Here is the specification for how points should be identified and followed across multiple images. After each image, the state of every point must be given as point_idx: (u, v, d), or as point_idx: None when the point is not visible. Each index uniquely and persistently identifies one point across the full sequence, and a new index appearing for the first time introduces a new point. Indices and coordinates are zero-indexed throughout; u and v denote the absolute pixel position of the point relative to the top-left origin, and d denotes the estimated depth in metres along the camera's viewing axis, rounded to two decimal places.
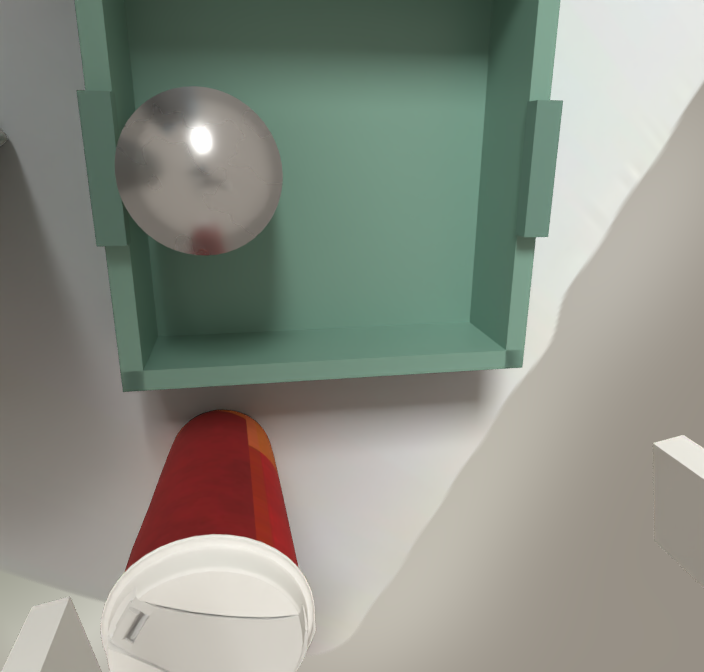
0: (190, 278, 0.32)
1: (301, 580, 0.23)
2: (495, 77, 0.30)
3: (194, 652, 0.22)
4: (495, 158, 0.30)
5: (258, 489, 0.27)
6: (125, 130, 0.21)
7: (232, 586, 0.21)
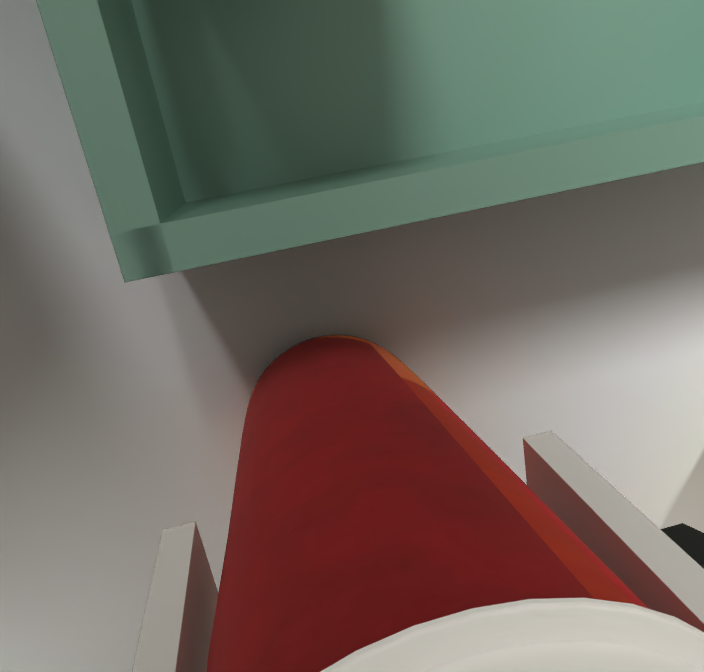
0: (226, 70, 0.16)
1: None
2: None
3: None
4: None
5: (478, 453, 0.11)
6: None
7: None
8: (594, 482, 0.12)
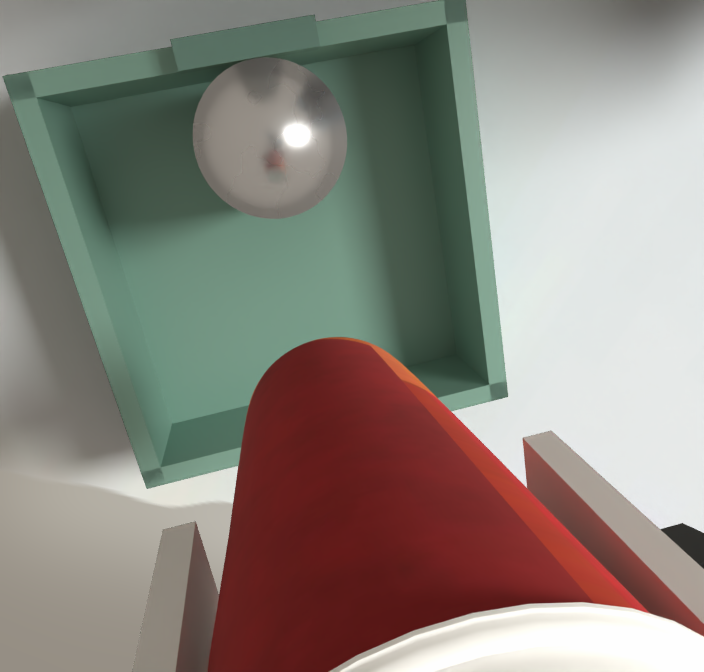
0: (146, 135, 0.30)
1: None
2: None
3: None
4: None
5: (478, 456, 0.11)
6: (295, 66, 0.22)
7: None
8: (594, 482, 0.12)
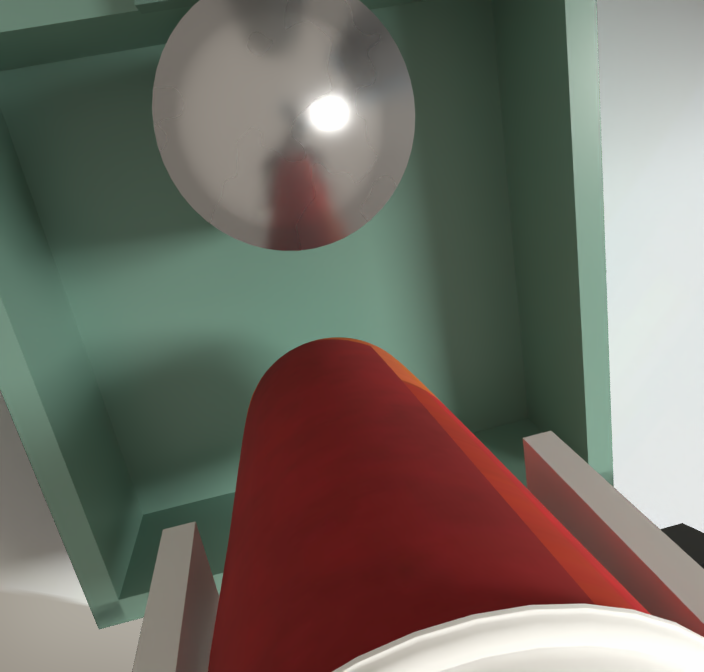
0: (101, 117, 0.21)
1: None
2: None
3: None
4: None
5: (478, 457, 0.11)
6: None
7: None
8: (594, 482, 0.12)
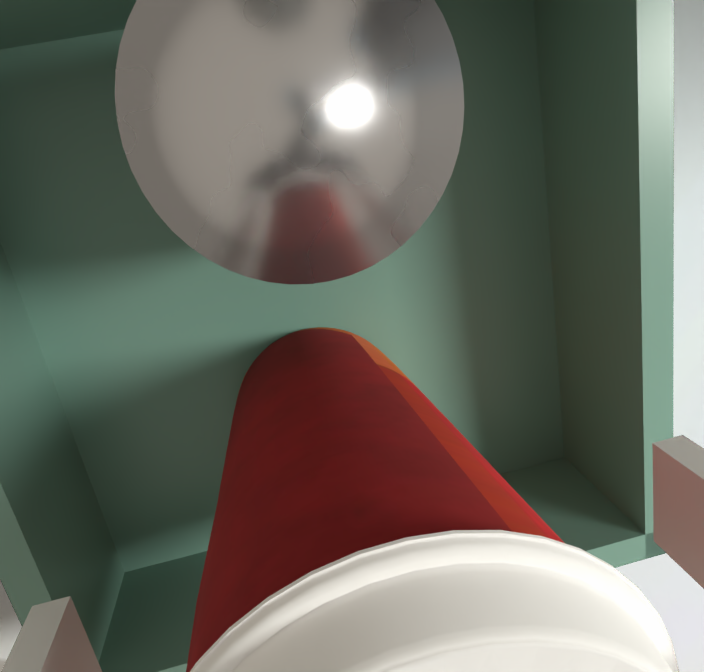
0: (70, 113, 0.17)
1: (655, 622, 0.08)
2: None
3: None
4: None
5: (438, 427, 0.13)
6: None
7: None
8: None
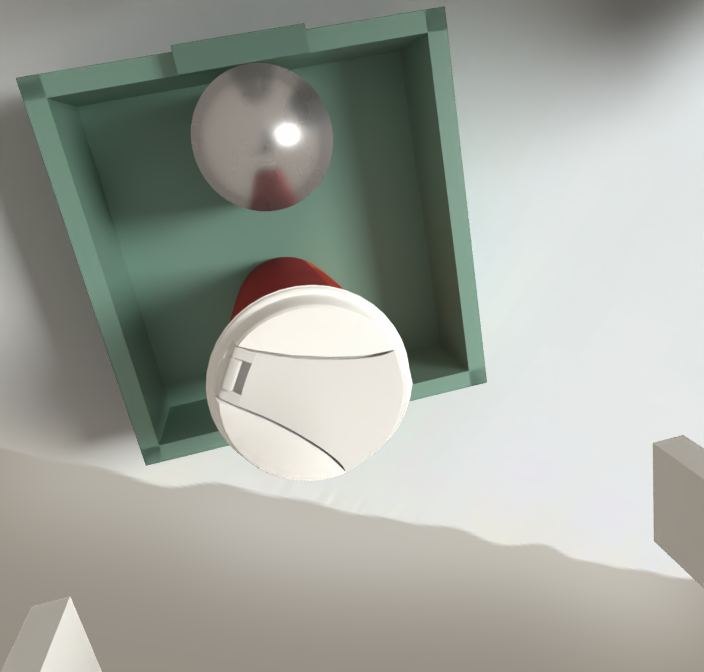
0: (147, 134, 0.32)
1: (390, 326, 0.23)
2: None
3: (300, 400, 0.22)
4: None
5: (330, 281, 0.27)
6: (285, 71, 0.24)
7: (325, 323, 0.22)
8: None
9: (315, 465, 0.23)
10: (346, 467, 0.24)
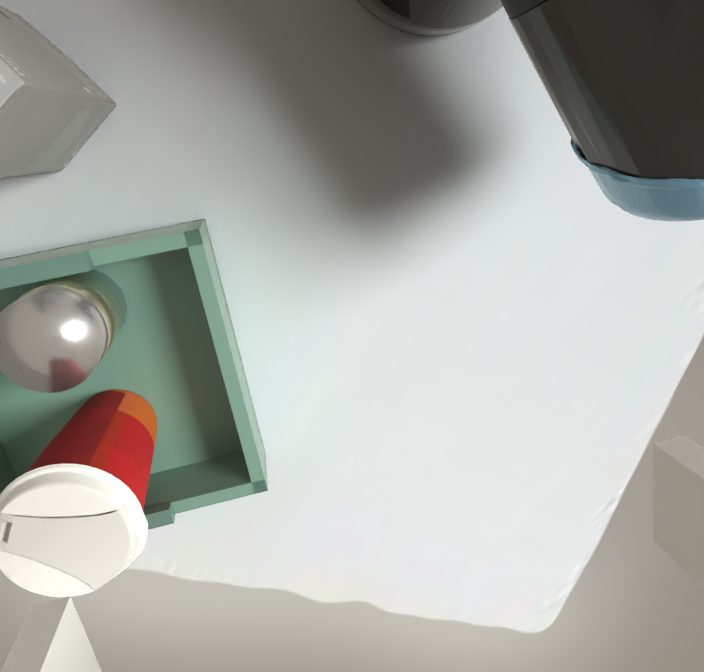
0: None
1: (123, 488, 0.33)
2: (194, 469, 0.47)
3: (52, 545, 0.32)
4: None
5: (109, 437, 0.37)
6: (57, 300, 0.34)
7: (63, 495, 0.31)
8: None
9: (69, 586, 0.33)
10: (94, 587, 0.33)
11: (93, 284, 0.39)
